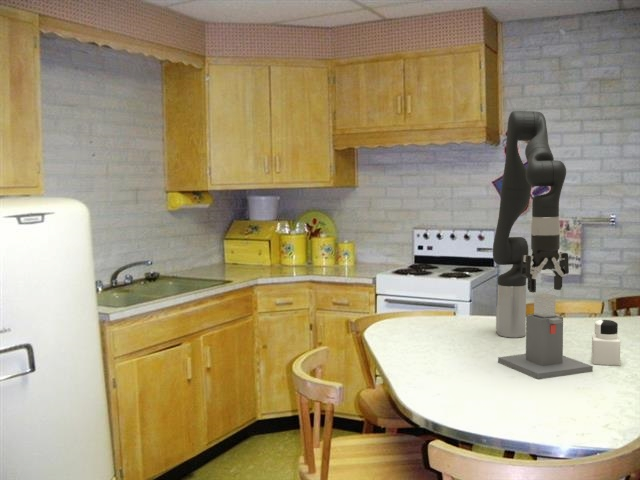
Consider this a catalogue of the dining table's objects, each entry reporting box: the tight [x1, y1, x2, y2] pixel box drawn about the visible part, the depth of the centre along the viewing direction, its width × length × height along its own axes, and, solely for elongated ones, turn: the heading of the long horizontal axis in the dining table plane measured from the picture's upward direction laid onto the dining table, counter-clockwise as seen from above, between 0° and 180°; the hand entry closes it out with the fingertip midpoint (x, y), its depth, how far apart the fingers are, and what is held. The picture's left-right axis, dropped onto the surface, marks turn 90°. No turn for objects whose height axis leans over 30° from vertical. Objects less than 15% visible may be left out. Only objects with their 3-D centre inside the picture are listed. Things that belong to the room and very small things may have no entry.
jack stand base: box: [497, 313, 593, 380], centre depth 191 cm, size 18×18×14 cm
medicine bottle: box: [591, 319, 621, 367], centre depth 195 cm, size 7×7×12 cm
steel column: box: [533, 293, 556, 319], centre depth 190 cm, size 4×4×18 cm
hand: (544, 290), depth 190 cm, fingers open, 8 cm apart
